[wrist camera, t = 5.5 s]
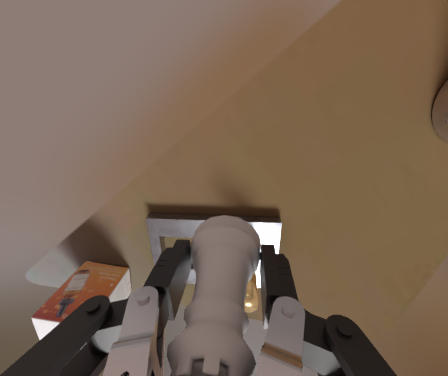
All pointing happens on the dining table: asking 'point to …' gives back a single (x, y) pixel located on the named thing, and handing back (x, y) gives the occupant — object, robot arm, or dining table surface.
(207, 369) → the rook chess piece
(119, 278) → the small box
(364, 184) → the dining table surface
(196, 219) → the bolt plate
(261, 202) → the dining table surface
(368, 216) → the dining table surface
